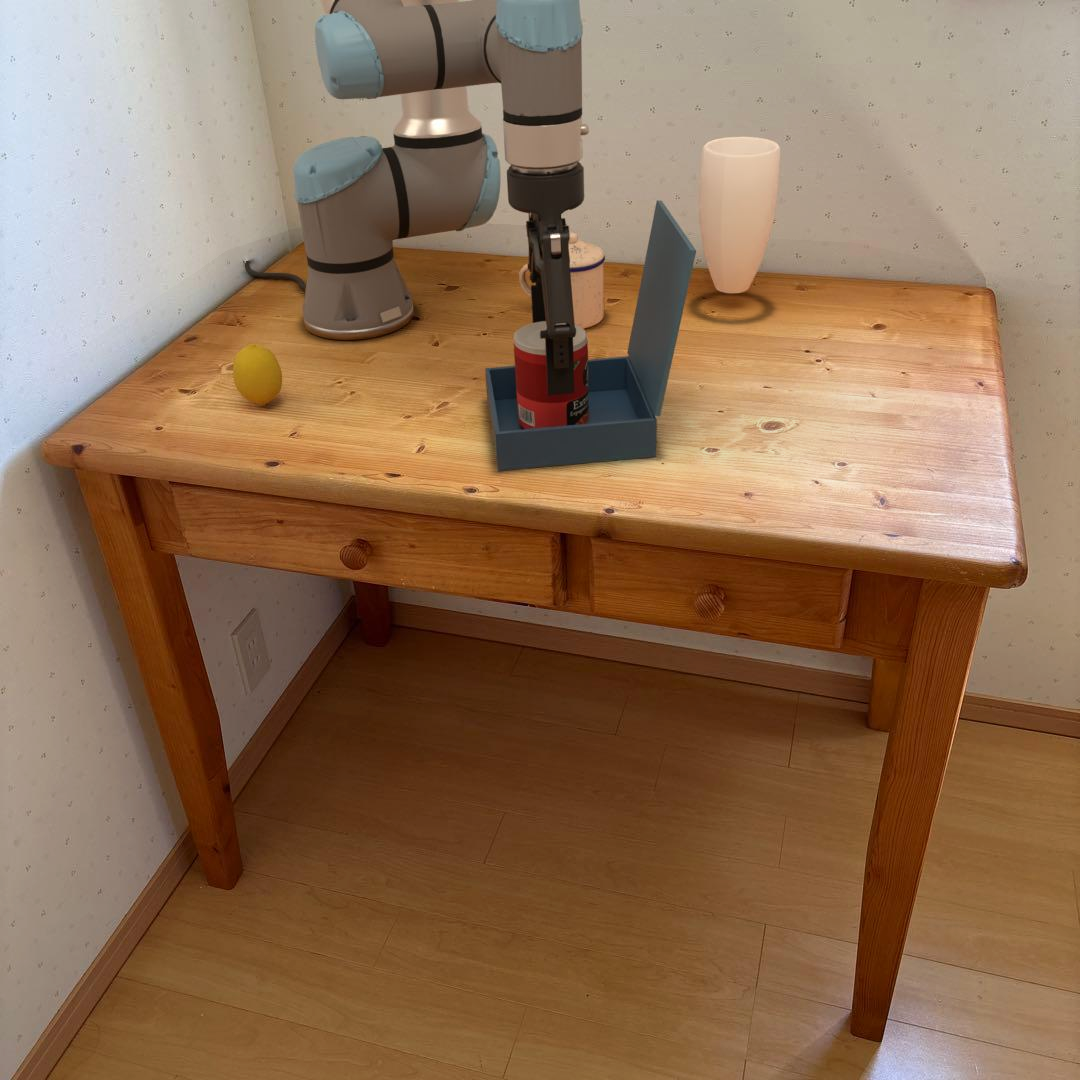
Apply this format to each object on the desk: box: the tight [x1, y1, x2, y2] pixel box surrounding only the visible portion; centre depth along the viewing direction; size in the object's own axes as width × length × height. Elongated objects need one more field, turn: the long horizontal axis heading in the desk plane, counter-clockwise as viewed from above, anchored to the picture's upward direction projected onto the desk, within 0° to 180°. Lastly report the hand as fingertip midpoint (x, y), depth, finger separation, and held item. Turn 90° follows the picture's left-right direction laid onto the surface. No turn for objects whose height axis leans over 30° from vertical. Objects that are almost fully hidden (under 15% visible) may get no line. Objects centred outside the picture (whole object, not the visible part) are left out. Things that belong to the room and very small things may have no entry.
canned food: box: [513, 321, 589, 429], centre depth 115 cm, size 8×8×11 cm
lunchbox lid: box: [627, 199, 697, 417], centre depth 111 cm, size 18×16×1 cm
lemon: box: [232, 342, 283, 407], centre depth 124 cm, size 6×6×8 cm
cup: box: [698, 136, 781, 294], centre depth 139 cm, size 10×10×22 cm
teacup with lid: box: [518, 232, 606, 330], centre depth 141 cm, size 12×9×12 cm
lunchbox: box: [484, 355, 658, 472], centre depth 117 cm, size 17×16×4 cm
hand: (553, 366), depth 113 cm, fingers open, 13 cm apart
